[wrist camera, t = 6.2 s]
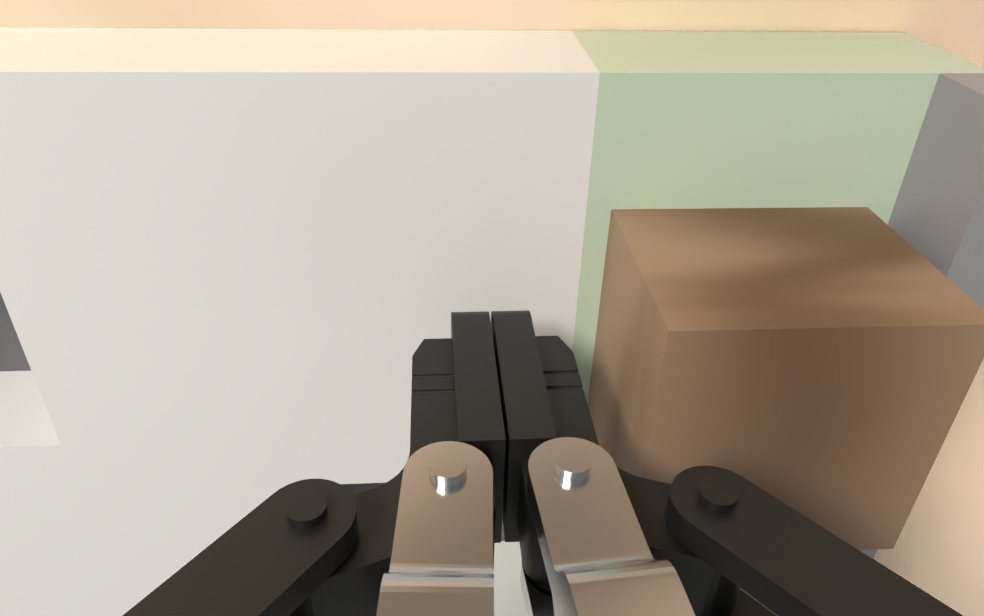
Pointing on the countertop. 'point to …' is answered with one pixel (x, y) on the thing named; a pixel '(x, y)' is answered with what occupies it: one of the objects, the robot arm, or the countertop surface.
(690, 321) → the walnut block
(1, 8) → the countertop surface
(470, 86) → the box
